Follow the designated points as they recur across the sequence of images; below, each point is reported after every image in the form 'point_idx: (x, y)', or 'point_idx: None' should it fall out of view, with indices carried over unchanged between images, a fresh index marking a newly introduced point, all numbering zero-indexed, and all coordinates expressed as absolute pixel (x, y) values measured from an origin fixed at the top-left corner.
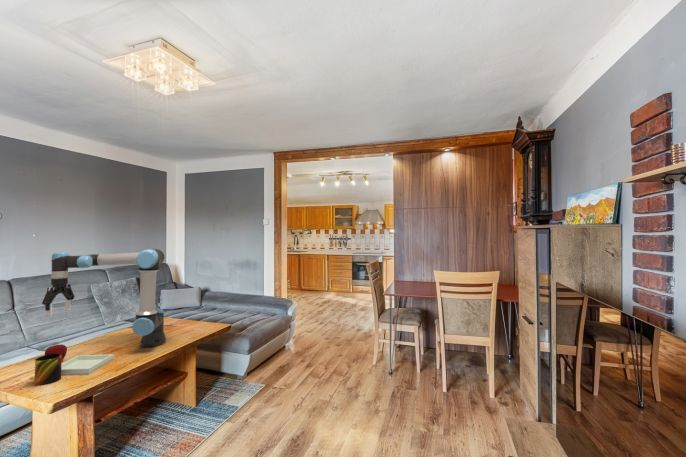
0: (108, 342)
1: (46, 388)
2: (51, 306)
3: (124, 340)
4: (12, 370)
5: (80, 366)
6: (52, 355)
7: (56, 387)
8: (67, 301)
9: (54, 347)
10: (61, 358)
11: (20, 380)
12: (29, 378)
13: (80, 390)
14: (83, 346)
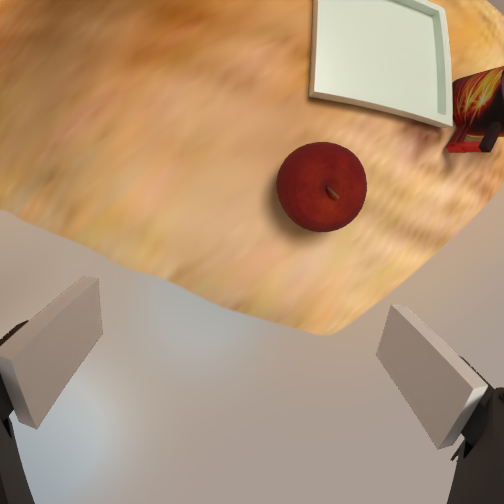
0: (61, 119)
1: None
2: (460, 369)
3: (52, 66)
4: (363, 294)
5: (390, 50)
6: (500, 100)
7: None
8: (37, 385)
9: (357, 180)
10: (499, 67)
11: (455, 196)
12: (447, 177)
13: (501, 19)
14: (98, 201)
